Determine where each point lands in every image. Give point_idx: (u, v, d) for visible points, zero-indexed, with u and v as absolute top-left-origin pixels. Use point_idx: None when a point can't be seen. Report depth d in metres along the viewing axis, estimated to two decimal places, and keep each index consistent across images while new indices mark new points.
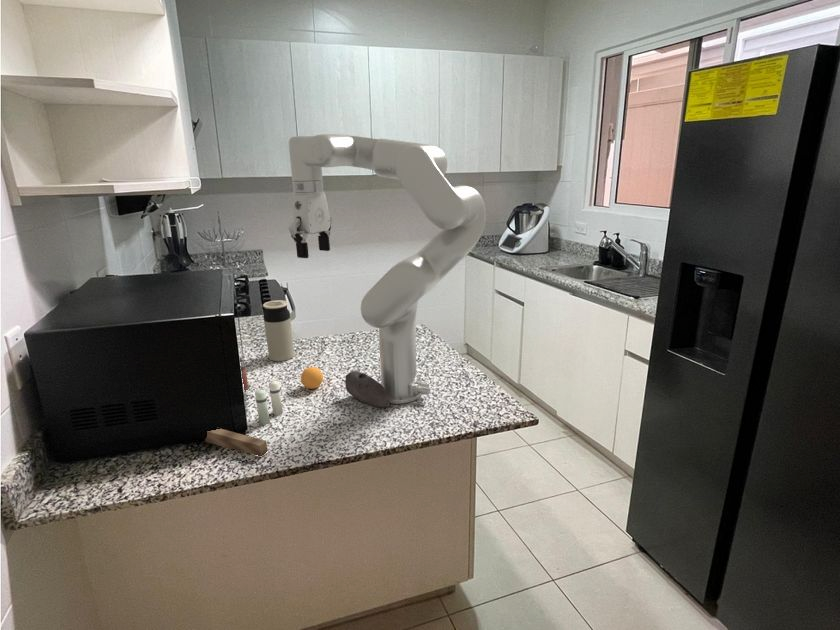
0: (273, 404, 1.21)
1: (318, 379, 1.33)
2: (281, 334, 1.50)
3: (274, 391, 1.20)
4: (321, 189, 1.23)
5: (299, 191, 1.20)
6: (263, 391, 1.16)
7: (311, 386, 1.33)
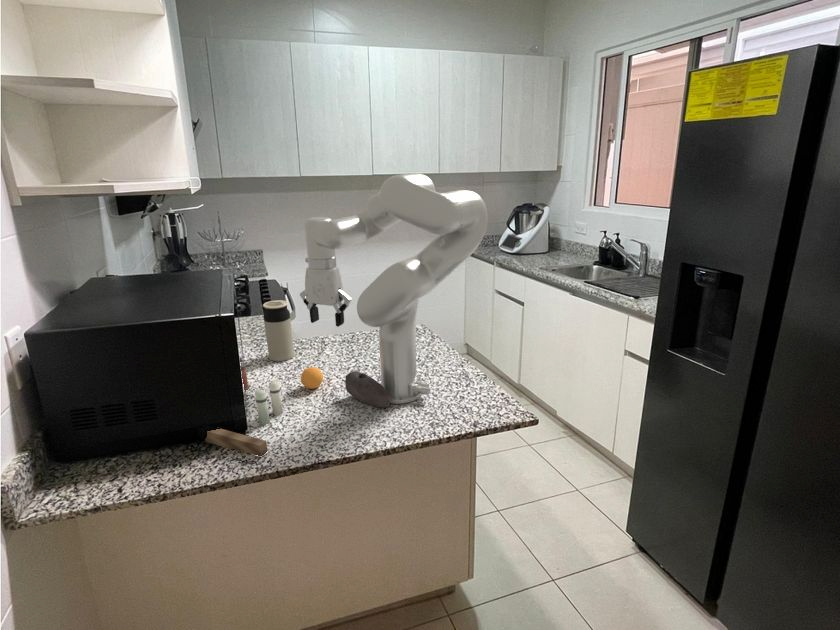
0: (273, 404, 1.21)
1: (318, 379, 1.33)
2: (281, 334, 1.50)
3: (274, 391, 1.20)
4: (315, 267, 1.30)
5: None
6: (263, 391, 1.16)
7: (311, 386, 1.33)
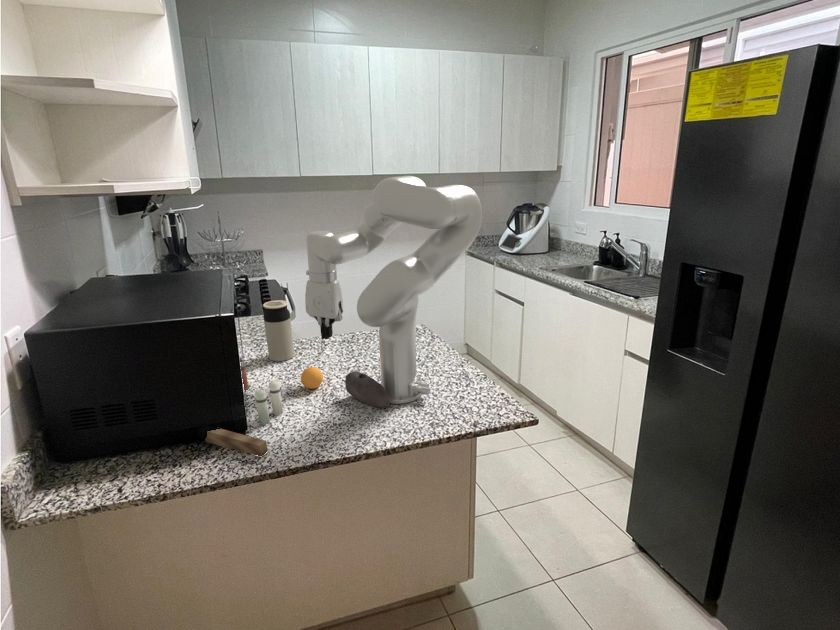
0: (273, 404, 1.21)
1: (318, 379, 1.33)
2: (281, 334, 1.50)
3: (274, 391, 1.20)
4: (316, 281, 1.31)
5: None
6: (263, 391, 1.16)
7: (311, 386, 1.33)
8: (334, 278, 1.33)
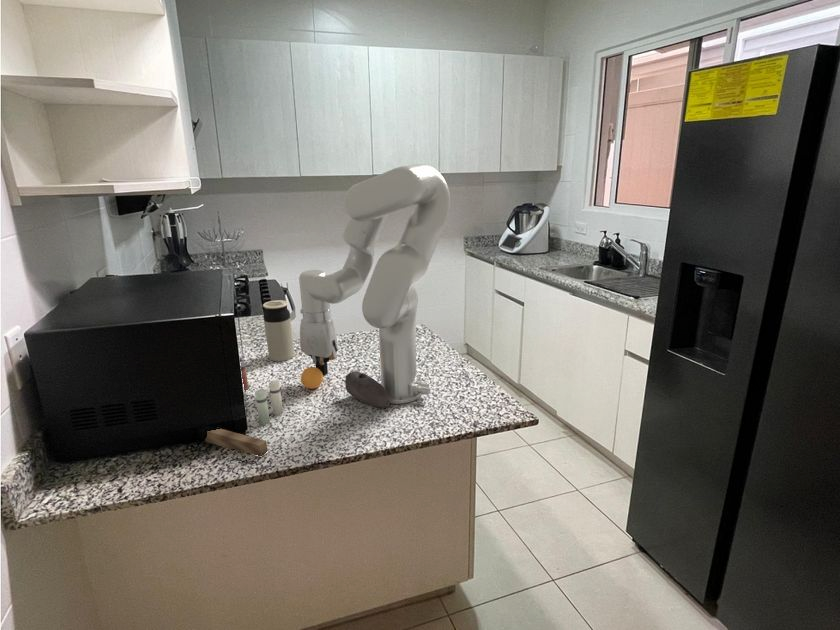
0: (273, 404, 1.21)
1: (318, 379, 1.33)
2: (281, 334, 1.50)
3: (274, 391, 1.20)
4: (309, 320, 1.31)
5: None
6: (263, 391, 1.16)
7: (311, 386, 1.33)
8: (327, 317, 1.32)
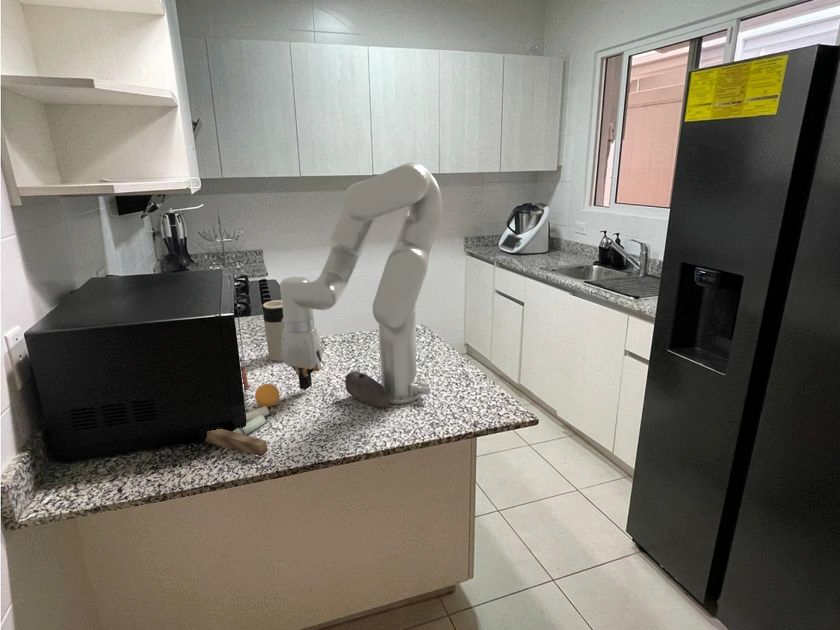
0: (256, 414, 1.19)
1: (270, 387, 1.24)
2: (281, 334, 1.50)
3: None
4: (291, 330, 1.24)
5: None
6: None
7: None
8: (311, 326, 1.25)
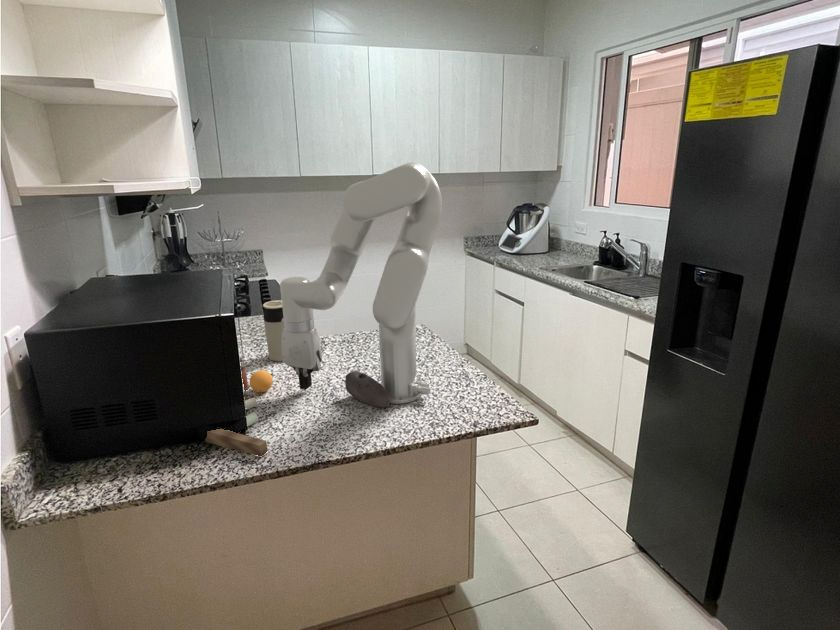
0: None
1: None
2: (281, 334, 1.50)
3: None
4: (291, 330, 1.24)
5: None
6: None
7: None
8: (311, 326, 1.25)
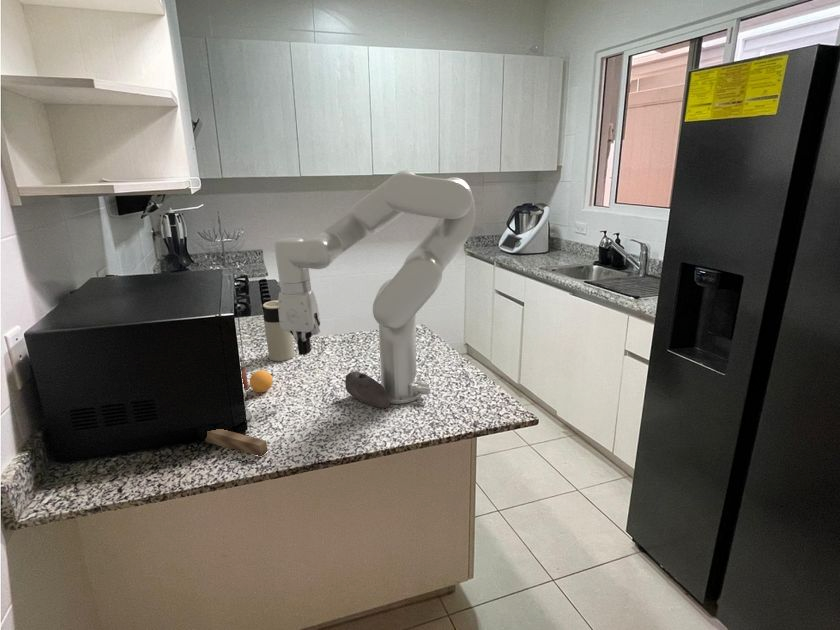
0: None
1: None
2: (281, 334, 1.50)
3: None
4: (288, 292, 1.20)
5: None
6: None
7: None
8: (307, 288, 1.22)
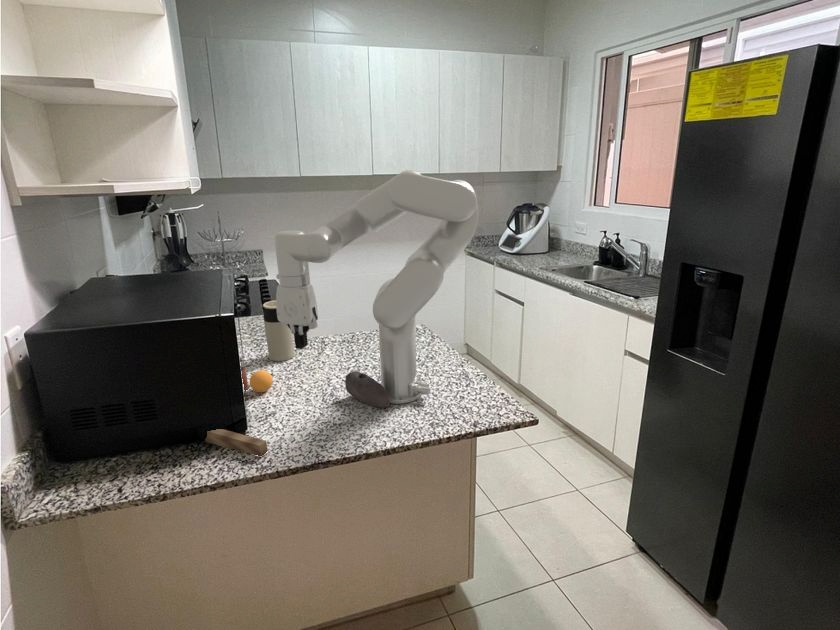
0: None
1: None
2: (281, 334, 1.50)
3: None
4: (286, 285, 1.20)
5: None
6: None
7: None
8: (306, 282, 1.22)
